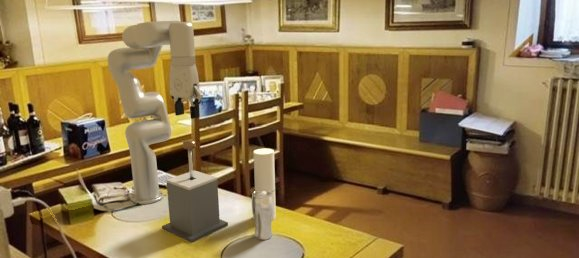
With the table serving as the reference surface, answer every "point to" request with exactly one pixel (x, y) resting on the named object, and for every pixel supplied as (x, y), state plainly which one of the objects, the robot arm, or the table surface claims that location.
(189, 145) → the plunger
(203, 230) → the block
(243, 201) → the table surface
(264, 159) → the cylindrical container
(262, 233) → the beer glass
